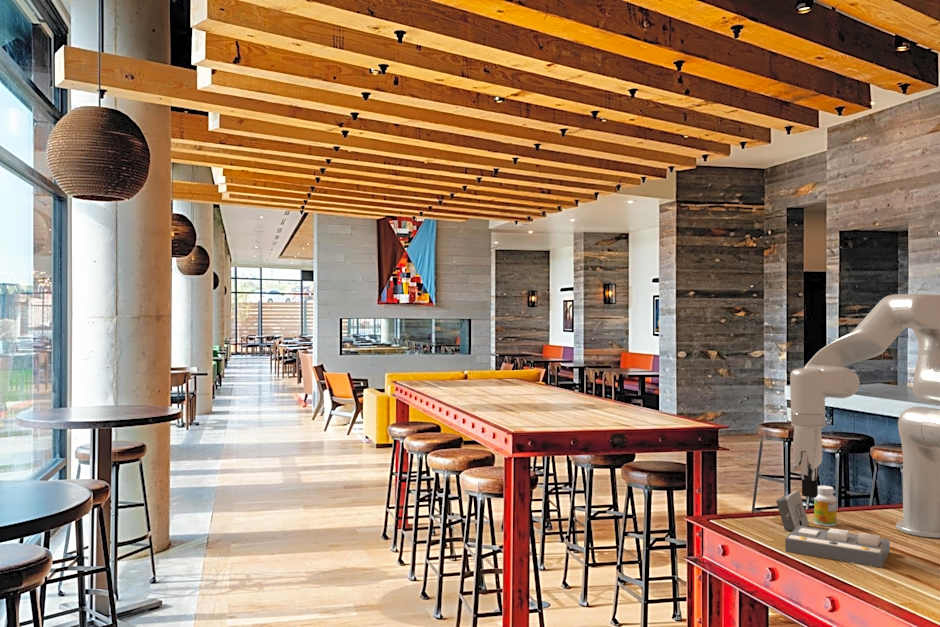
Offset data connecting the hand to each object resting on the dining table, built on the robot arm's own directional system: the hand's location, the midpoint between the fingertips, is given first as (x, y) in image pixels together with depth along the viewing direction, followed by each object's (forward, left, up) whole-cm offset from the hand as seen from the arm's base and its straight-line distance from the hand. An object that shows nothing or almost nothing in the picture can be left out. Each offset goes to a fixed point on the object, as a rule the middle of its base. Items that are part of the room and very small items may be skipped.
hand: (810, 496), depth 181 cm
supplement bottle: (-22, -1, -12) cm, 25 cm away
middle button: (0, +6, -10) cm, 12 cm away
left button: (0, 0, -11) cm, 11 cm away
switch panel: (+1, +6, -12) cm, 14 cm away
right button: (0, +13, -10) cm, 16 cm away
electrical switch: (-13, -7, -12) cm, 19 cm away
